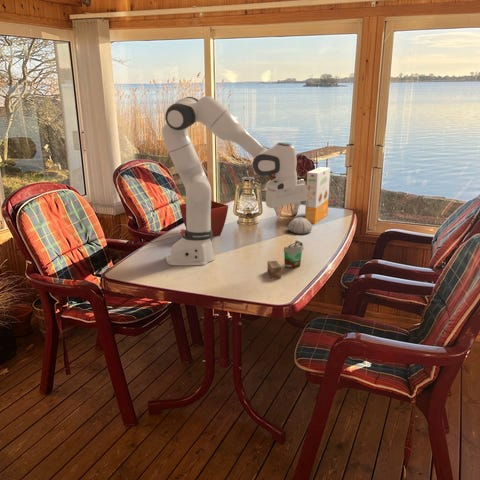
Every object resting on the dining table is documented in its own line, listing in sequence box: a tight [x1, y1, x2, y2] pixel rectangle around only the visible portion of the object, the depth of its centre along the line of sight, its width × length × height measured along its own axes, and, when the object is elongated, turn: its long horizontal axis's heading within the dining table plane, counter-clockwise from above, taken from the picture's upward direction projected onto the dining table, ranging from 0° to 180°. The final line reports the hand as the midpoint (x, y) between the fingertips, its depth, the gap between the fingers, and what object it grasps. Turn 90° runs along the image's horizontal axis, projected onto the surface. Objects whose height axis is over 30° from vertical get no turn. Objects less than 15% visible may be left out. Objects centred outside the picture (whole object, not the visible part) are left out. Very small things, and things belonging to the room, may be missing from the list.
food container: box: [283, 240, 305, 269], centre depth 211 cm, size 12×6×10 cm, turn 148°
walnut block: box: [266, 260, 282, 279], centre depth 201 cm, size 4×8×5 cm, turn 10°
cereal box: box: [304, 166, 331, 225], centre depth 285 cm, size 22×6×30 cm, turn 151°
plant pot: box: [179, 200, 229, 238], centre depth 254 cm, size 19×19×17 cm
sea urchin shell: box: [287, 216, 313, 235], centre depth 263 cm, size 13×14×8 cm
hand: (287, 214), depth 203 cm, fingers open, 8 cm apart
